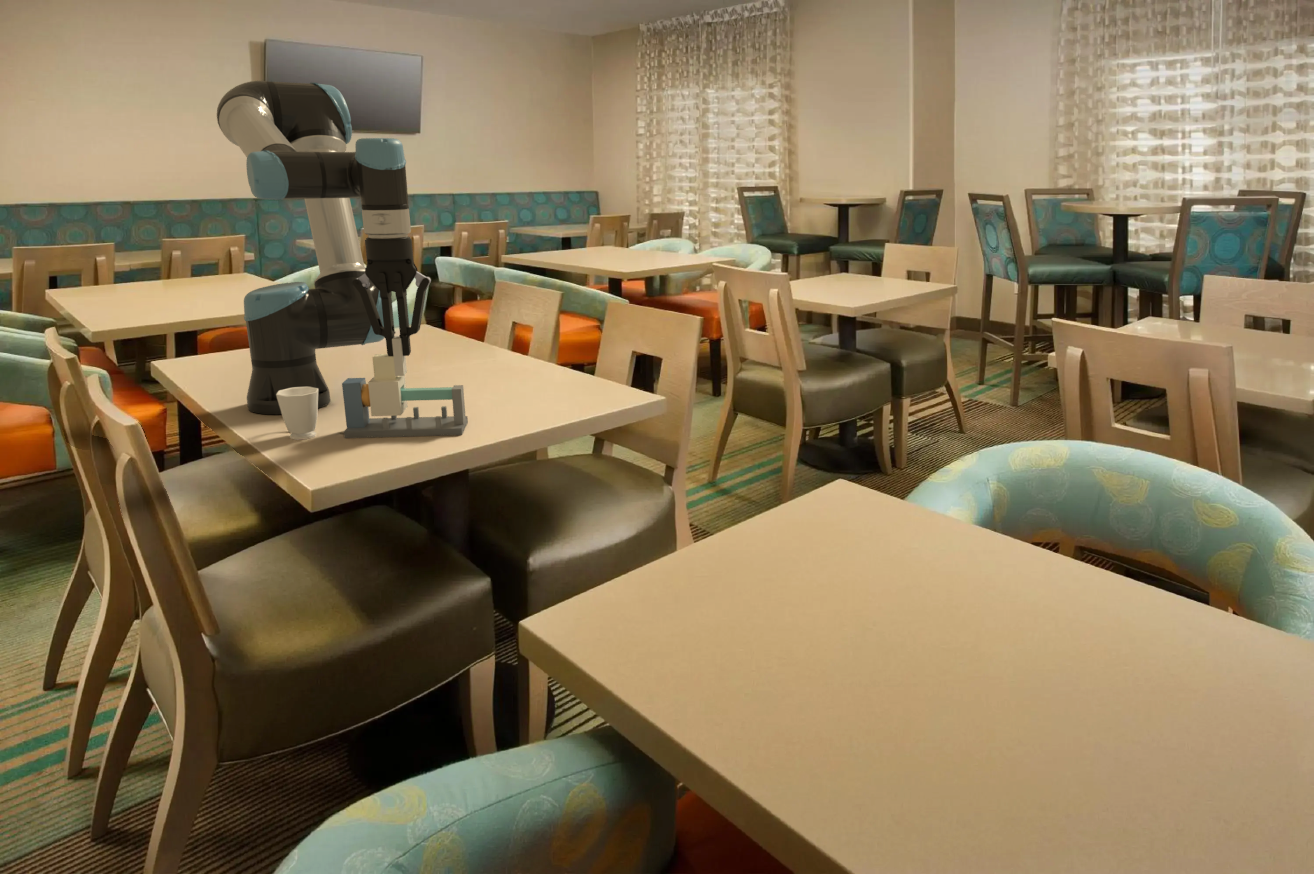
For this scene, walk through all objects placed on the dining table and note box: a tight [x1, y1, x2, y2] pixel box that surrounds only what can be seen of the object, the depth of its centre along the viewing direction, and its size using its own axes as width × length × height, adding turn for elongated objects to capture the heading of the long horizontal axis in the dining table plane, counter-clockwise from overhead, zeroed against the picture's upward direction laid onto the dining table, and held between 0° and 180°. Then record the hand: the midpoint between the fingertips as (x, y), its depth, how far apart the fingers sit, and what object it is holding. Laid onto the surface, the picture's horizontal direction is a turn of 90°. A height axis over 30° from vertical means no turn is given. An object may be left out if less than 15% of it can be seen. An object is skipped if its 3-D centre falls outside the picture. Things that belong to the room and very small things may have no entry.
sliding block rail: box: [341, 377, 469, 439], centre depth 154 cm, size 20×8×9 cm, turn 95°
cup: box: [276, 387, 319, 441], centre depth 152 cm, size 7×10×8 cm
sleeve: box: [367, 353, 409, 417], centre depth 153 cm, size 5×6×10 cm
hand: (401, 374), depth 153 cm, fingers closed
